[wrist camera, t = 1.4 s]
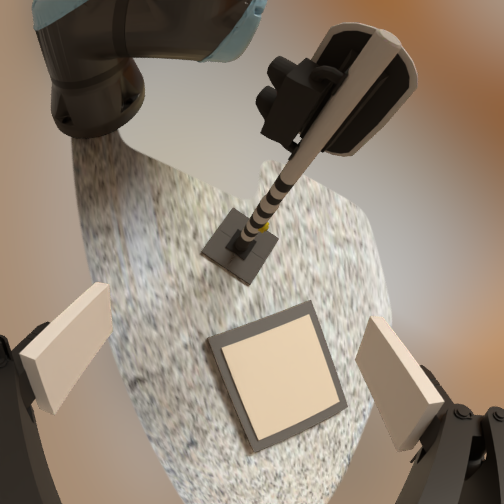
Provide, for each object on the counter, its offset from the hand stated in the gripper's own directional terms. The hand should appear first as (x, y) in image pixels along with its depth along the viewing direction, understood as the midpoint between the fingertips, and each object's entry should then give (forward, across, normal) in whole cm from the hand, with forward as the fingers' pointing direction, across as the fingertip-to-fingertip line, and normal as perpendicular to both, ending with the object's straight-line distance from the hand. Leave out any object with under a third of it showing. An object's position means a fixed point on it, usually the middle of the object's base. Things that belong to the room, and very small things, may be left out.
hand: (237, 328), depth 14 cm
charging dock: (+16, +6, -16) cm, 23 cm away
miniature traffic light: (+23, 0, -2) cm, 23 cm away
